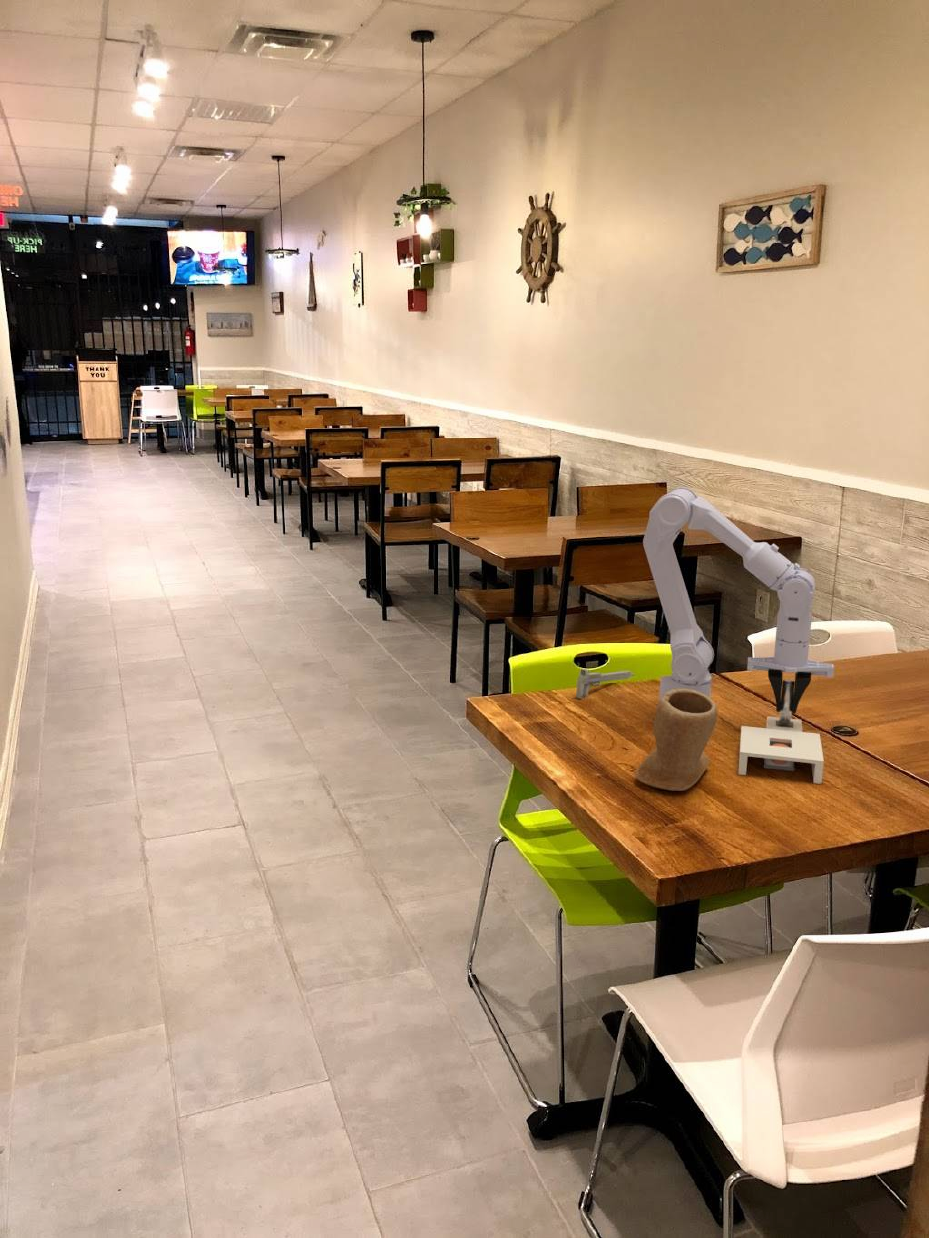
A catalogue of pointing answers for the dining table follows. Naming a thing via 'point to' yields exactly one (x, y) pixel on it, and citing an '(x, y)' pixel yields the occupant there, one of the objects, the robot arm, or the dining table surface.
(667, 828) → the dining table surface
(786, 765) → the button
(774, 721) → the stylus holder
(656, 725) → the stone cup
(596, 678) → the caliper
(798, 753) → the white slotted stand
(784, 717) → the stylus
